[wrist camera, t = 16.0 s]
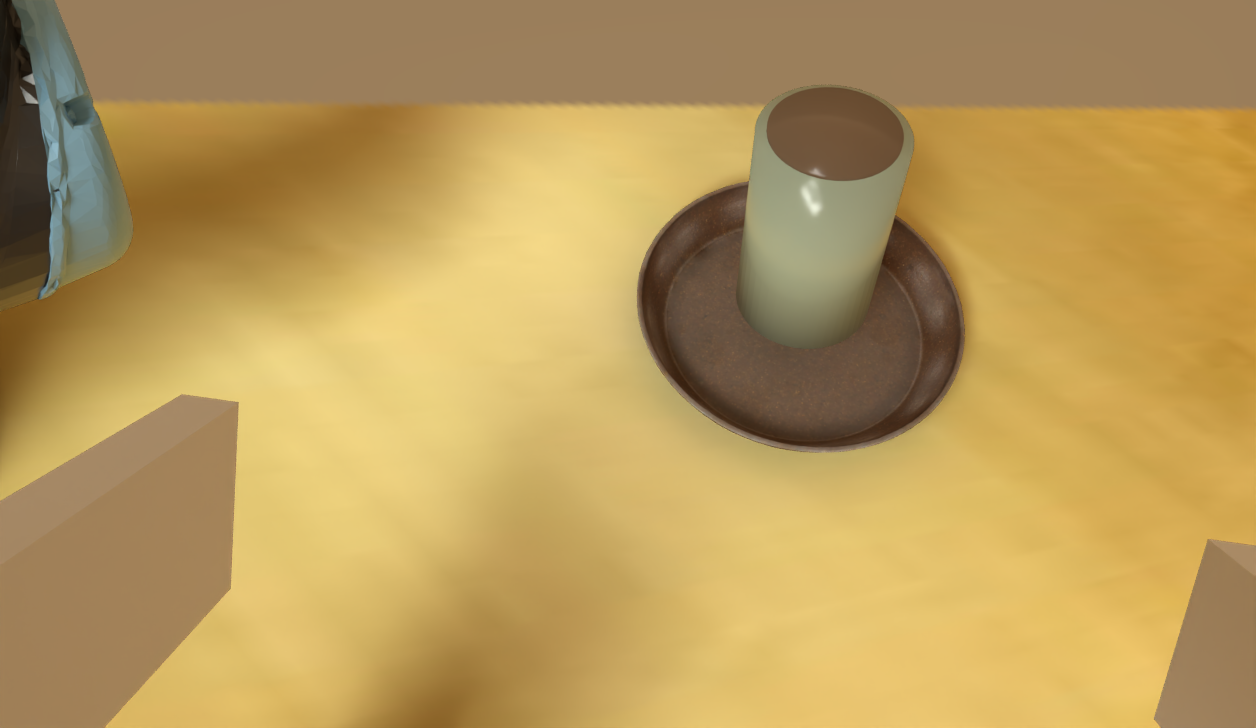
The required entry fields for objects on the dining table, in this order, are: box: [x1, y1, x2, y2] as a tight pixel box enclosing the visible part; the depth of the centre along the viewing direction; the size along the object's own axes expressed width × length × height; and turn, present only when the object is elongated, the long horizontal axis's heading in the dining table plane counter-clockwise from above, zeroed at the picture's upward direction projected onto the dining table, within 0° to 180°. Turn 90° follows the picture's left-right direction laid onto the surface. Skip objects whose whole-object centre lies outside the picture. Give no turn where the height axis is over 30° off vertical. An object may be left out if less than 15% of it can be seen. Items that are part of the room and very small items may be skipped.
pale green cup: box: [736, 85, 914, 349], centre depth 49 cm, size 7×7×11 cm
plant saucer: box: [637, 181, 965, 452], centre depth 55 cm, size 18×18×3 cm
